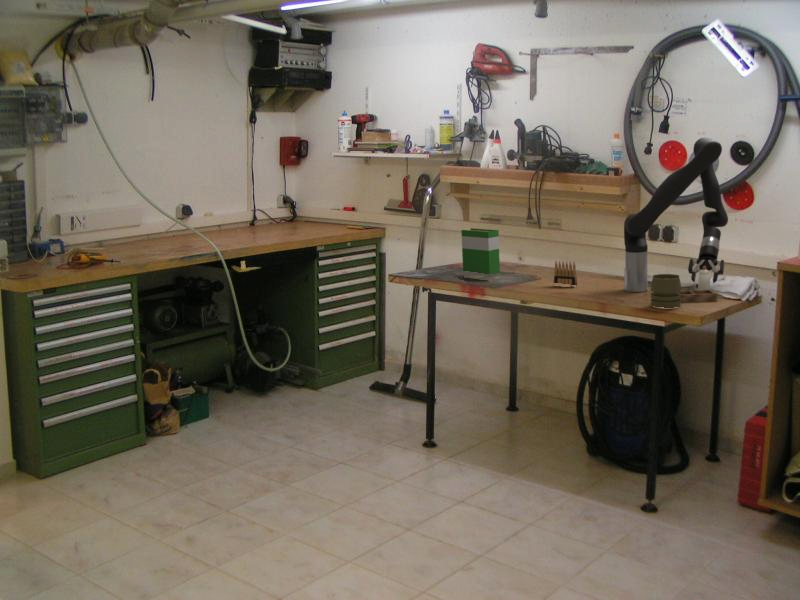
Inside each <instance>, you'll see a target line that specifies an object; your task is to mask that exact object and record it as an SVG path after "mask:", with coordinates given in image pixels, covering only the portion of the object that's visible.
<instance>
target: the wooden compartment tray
mask: <svg viewBox="0 0 800 600" xmlns="http://www.w3.org/2000/svg"><path fill="white" fill-rule="evenodd" d="M678 293H680V294H681V298H680V299H681V303H700V302H701V303H703V302H704V303H705V302H707V303H708V302H718V293H717V292H716V291H714V290H712V289H710V290H698V289H693V290H692V289H691V290H681V291H680V292H678Z"/></svg>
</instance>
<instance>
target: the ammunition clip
mask: <svg viewBox="0 0 800 600" xmlns="http://www.w3.org/2000/svg"><path fill="white" fill-rule="evenodd" d="M554 283H562V284H570V285H577V286H578V279H577V269H576V262H575V261H573V262H572V261H571V260H570V261H569V263H568V261H567V260H566V262H565V261H564V260H562V263H561V260H559V261H557V260H555V261H554V275H553V284H554Z"/></svg>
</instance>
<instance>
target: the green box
mask: <svg viewBox="0 0 800 600" xmlns="http://www.w3.org/2000/svg"><path fill="white" fill-rule="evenodd" d="M460 233H461V250H462V254H461V255H462V272H463V271H470V272H478V273H484V274H497V273H500V272H501V271H500V270H501V269H500V267H501V265H500V236H499V229H487V228H473V227H472V228H470V229H469V230H468V229H461V232H460ZM500 274H501V273H500Z"/></svg>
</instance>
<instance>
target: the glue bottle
mask: <svg viewBox="0 0 800 600" xmlns="http://www.w3.org/2000/svg"><path fill="white" fill-rule="evenodd" d="M697 286H698V287H697V288H698V289H697V290H711V273H710V271H708V270H706V266H703V270H701V271H700V272H698V285H697Z"/></svg>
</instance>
